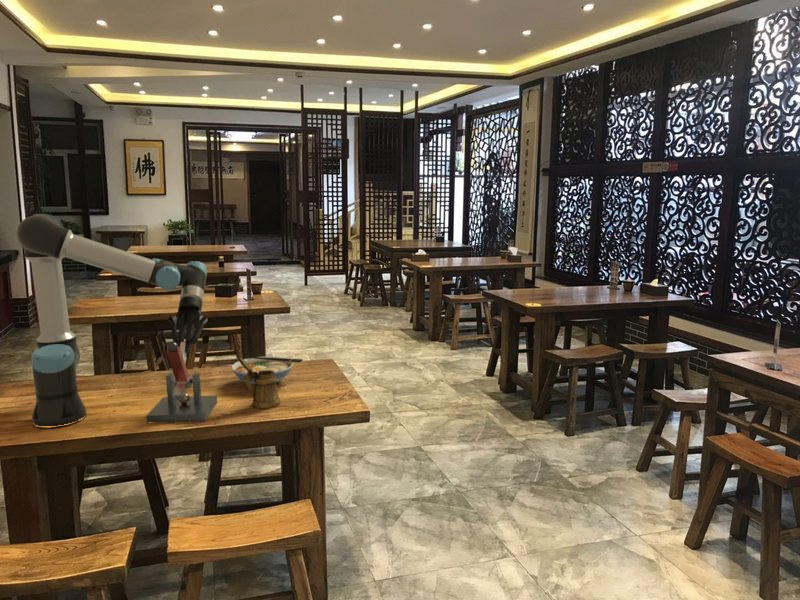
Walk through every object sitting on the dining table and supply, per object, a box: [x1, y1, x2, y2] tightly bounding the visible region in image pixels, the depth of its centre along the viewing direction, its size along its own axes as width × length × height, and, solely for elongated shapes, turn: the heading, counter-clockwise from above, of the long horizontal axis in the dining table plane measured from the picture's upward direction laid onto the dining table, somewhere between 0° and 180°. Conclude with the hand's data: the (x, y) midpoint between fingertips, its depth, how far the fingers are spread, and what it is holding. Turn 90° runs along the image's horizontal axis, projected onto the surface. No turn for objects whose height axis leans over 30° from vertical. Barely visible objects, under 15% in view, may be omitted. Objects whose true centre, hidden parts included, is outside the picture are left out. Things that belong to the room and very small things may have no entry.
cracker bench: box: [146, 371, 218, 423], centre depth 201 cm, size 18×17×12 cm
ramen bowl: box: [231, 355, 303, 386], centre depth 231 cm, size 25×23×8 cm
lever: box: [166, 341, 193, 400], centre depth 195 cm, size 6×8×20 cm
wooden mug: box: [236, 355, 281, 410], centre depth 207 cm, size 9×14×18 cm, turn 105°
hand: (181, 361), depth 200 cm, fingers closed
